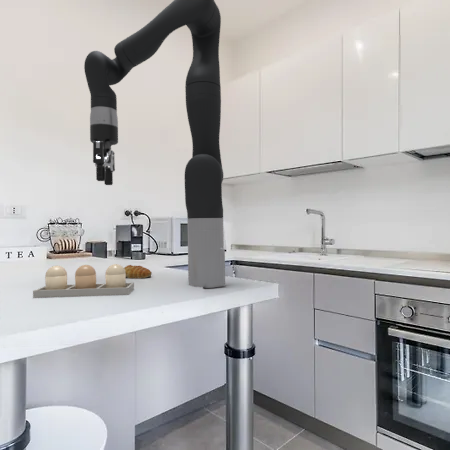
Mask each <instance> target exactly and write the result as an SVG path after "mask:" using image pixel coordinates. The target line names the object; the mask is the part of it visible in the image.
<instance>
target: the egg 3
mask: <svg viewBox="0 0 450 450" xmlns="http://www.w3.org/2000/svg"><path fill="white" fill-rule="evenodd" d="M124 268H125V267H124V266H123V265H121V264H118V263H114V264H110V265H109V266H108V267H107V268H106V270H105V275H104V276H105V278H104V279H105V284H106V288H126V283H127V281H126V280H127V279H126V278H127V277H126V272H125V269H124Z"/></svg>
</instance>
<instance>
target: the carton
mask: <svg viewBox="0 0 450 450" xmlns="http://www.w3.org/2000/svg"><path fill="white" fill-rule="evenodd" d="M134 290H135V282H126V288H106V283H96V288H94V289H75V284H67V289H63V290H46V288H45V286H41V287H40V288H36V289H34V290H32V299H44V298H45V299H47V298H52V299H53V298H74V297H75V298H76V297H78V298H81V297H103V296H105V297H106V296H129V295H130V294H131V293H133V291H134Z"/></svg>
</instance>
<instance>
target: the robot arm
mask: <svg viewBox="0 0 450 450" xmlns="http://www.w3.org/2000/svg"><path fill="white" fill-rule="evenodd" d="M221 22H222V17H221V12H220V9H219V6H218V5H217V4H216V2H215V0H172V2H171V3H169V4H168V5H167V6H165V8H164V9H162V11H161V12H159V13H158V14H157V15H156V16H155V17H153V18H152V20H150V21H149V22H148V23H147V24H146V25H144V26H143V27H141V29H138V30H137V31H136V32H134V33H132V34H131V35H129V36H127V37H126V38H124V39H122V40H121V41H120V42H118V43H117V44H115V46H114V50H113V51H114V55H115V57H114V58H111V57H109V56H107V55H106V54H105V53H103V52H102V51H98V50H93V51H90V52H89V53H88V54H87V55H86V57H85V60H84V65H83V67H84V68H83V69H84V75H85V79H86V82H87V88H88V90H89V94H90V114H89V137H90V138H89V139H90V140H89V141H90V142H91V143H92V154H93V155H92V162H93V164H94V165H95V167H96V168H95V171H96V176H95V177H96V180H97V182H104V185H105V186H113V184H114V183H113V181H114V179H113V177H114V176H113V173H114V172H115V170H116V169H115V167H116V165H115V164H116V163H115V151H113V150H112V146H115V145H117V144H118V143H119V121H118V119H119V118H118V109H117V106H118V105H117V103H118V102H117V95H116V93H115V90H113V88H112V87H111V86H113V85H117V84H119V83H120V82H121V81H122V80H123V79H124V78H125V77H126V76H127V75H128V74H129V73H130V72H131V70H132V69H134V68H135V67H137V66H139V65H141V64H143V63H144V62H146V61H147V60H149V59H150V58H152V57H153V56H154V55H155V54H156V53H157V51H158V50H159V49H160V47H161V46H162V44H163V43H164V41H165V40H166V39H167V38H168V37H169V36H170V35H171V34H172V33H173V32H175V31H176V30H178V29H180V28H182V27H184V26H186V27H187V28H188V29H189V31H190V34H191V35H190V36H191V40H192V61H191V64H190V66H189V68H188V70H187V74H186V79H185V87H184V88H185V90H184V91H185V107H186V114H187V121H188V125H189V130H190V135H191V140H192V141H191V142H192V144H191V145H192V157H191V158H190V159H189V160H188V162H187V163H186V165H185V168H184V200H185V208H186V209H185V210H186V214H187V218H186V221H187V275H188V278H187V279H188V281H187V283H188V286H190V287H196V288H197V287H198V288H203V289H213V288H221V287H226V256H225V255H226V251H225V247H224V246H225V244H224V242H225V241H224V240H225V239H224V207H223V197H222V196H223V195H222V193H223V192H222V191H223V190H222V189H223V188H222V186H223V185H222V183H223V181H224V170H223V163H222V158H221V157H222V155H221V147H220V146H221V145H220V132H221V117H222V116H221V115H222V113H221V111H222V93H221V91H222V90H221V89H222V88H221V74H220V73H221V71H220V68H221V66H220V57H219V54H220V52H219V51H220V38H221V37H220V36H221V25H222V23H221Z"/></svg>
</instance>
